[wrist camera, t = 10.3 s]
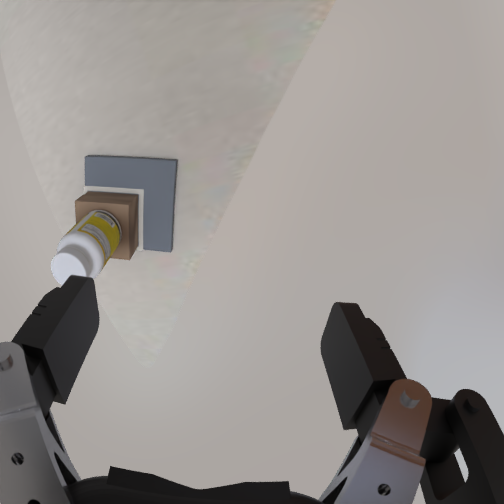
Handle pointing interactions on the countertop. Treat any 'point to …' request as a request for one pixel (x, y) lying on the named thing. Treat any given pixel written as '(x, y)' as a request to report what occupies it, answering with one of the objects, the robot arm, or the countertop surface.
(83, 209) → the walnut block
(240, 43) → the countertop surface
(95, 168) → the mat
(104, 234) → the supplement bottle
